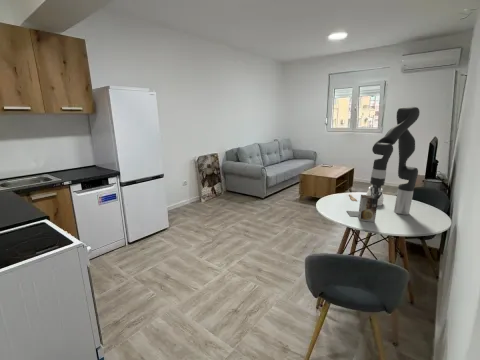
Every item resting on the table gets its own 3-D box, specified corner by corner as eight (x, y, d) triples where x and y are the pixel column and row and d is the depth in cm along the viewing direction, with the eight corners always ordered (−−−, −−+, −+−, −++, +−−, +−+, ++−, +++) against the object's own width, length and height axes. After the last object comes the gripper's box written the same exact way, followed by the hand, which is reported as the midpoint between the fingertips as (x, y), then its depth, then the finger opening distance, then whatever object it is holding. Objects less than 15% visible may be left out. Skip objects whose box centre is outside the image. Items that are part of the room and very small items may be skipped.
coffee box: (372, 218, 173) (375, 195, 169) (374, 222, 167) (378, 198, 163) (357, 217, 175) (360, 194, 171) (359, 220, 168) (363, 197, 165)
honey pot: (361, 201, 209) (364, 179, 205) (372, 199, 214) (375, 178, 210) (375, 206, 198) (378, 183, 193) (386, 204, 203) (390, 181, 199)
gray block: (346, 211, 185) (346, 210, 185) (369, 212, 183) (369, 212, 183) (350, 216, 176) (350, 215, 175) (375, 218, 174) (375, 217, 173)
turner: (347, 195, 223) (347, 194, 223) (352, 195, 223) (352, 194, 223) (352, 201, 209) (352, 200, 209) (357, 201, 208) (357, 200, 208)
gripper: (367, 173, 162) (363, 200, 166) (375, 178, 149) (371, 207, 153) (380, 174, 161) (376, 201, 165) (389, 179, 148) (384, 208, 152)
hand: (373, 204), depth 159 cm, fingers closed
